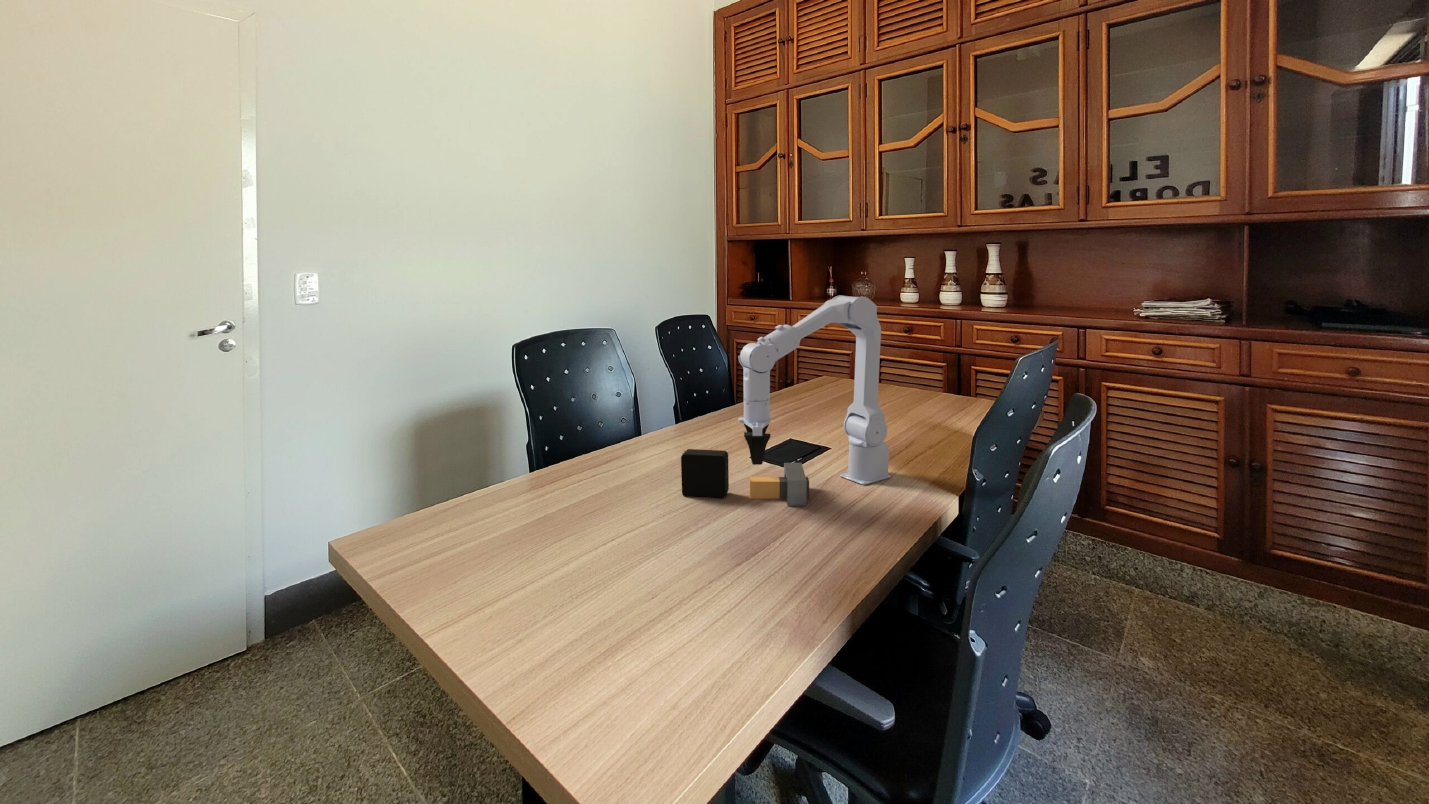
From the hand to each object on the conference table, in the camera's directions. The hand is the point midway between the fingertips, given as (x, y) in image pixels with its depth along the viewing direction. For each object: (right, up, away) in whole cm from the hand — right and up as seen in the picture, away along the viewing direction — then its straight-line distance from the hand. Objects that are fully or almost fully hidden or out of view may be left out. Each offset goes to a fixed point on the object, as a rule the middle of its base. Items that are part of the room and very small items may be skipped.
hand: (756, 458), depth 135 cm
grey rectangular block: (+9, -9, +1) cm, 12 cm away
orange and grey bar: (+5, -9, +2) cm, 10 cm away
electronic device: (-11, -9, +3) cm, 15 cm away
